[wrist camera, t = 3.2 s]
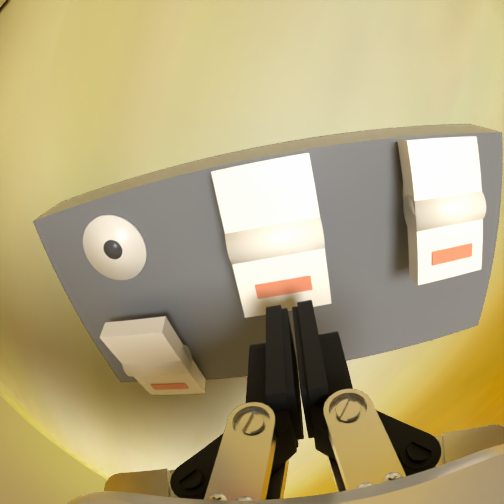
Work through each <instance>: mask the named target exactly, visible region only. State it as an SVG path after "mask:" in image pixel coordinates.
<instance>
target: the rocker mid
mask: <svg viewBox="0 0 504 504" xmlns="http://www.w3.org/2000/svg"><path fill="white" fill-rule="evenodd" d="M211 174H212V179H213V184H214V188H215V192H216V197H217V201H218V206H219V210H220V215H221V219H222V223H223V228H224V232H225V241H226V247H227V252H228V256H229V259H230V262H231V264H232V266H233V270H234V275H235V279H236V283H237V287H238V291H239V295H240V300H241V304H242V308H243V312H244V316H245V318H247V317H254V316H261V315H266V307H270V306H277V305H281V307H282V309H283V308H287V309H288V311H292V307H295V306H297V302H301V301H307V300H312V304H313V307H315V306H321V305H327V304H332V303H331V294H330V286H329V277H328V269H327V262H326V254H325V241H324V233H323V227H322V223H321V218H320V213H319V207H318V201H317V195H316V189H315V183H314V178H313V172H312V166H311V161H310V156H309V153H303V154H297V155H291V156H285V157H280V158H274V159H269V160H264V161H259V162H254V163H249V164H244V165H239V166H234V167H229V168H225V169H220V170H216V171H212V172H211Z"/></svg>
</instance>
